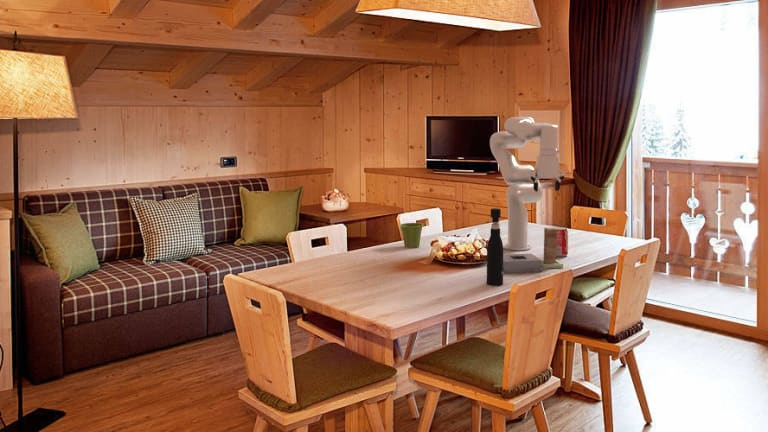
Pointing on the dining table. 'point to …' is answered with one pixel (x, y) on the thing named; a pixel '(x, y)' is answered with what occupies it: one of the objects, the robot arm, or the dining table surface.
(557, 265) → the holder tray
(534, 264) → the block
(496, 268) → the wine bottle
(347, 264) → the dining table surface
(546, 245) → the walnut peg
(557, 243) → the soda can
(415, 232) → the plant pot
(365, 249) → the dining table surface
